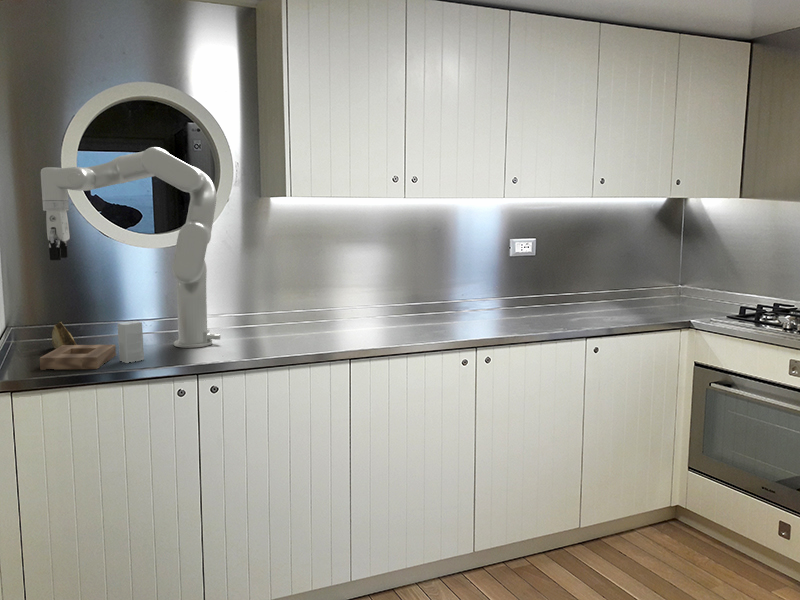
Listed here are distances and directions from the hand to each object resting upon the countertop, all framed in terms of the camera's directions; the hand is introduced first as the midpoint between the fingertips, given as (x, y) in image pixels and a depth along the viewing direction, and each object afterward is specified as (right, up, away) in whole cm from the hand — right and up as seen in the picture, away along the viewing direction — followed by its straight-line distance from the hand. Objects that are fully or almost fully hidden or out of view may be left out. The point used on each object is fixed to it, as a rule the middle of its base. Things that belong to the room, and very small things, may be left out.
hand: (59, 258), depth 232 cm
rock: (+2, -30, +1) cm, 30 cm away
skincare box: (+29, -32, -14) cm, 46 cm away
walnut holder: (+14, -32, -17) cm, 39 cm away
